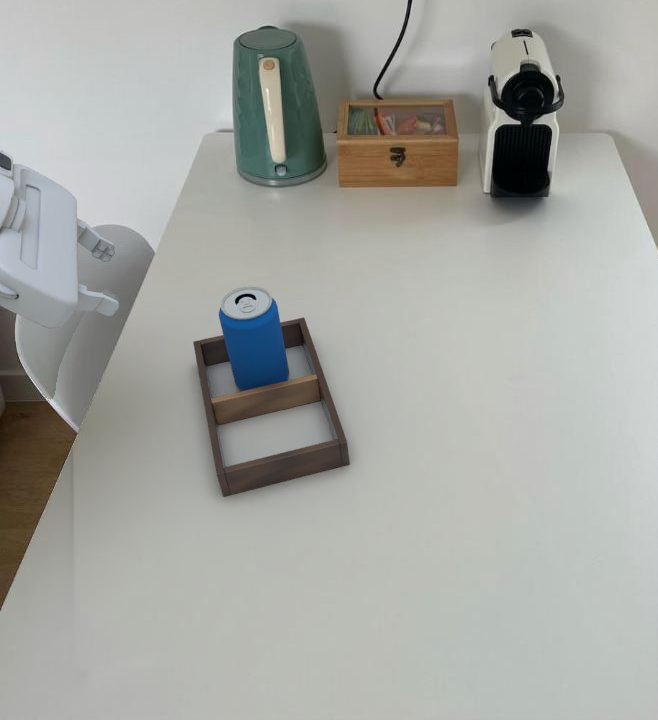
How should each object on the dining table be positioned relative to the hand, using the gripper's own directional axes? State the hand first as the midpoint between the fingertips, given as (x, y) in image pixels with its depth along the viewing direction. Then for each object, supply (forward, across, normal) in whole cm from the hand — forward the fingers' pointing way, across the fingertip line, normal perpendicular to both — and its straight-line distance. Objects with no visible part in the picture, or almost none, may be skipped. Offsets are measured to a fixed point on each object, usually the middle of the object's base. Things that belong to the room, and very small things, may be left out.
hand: (113, 279), depth 82 cm
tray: (+22, -5, +4) cm, 23 cm away
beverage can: (+22, 0, +4) cm, 22 cm away
